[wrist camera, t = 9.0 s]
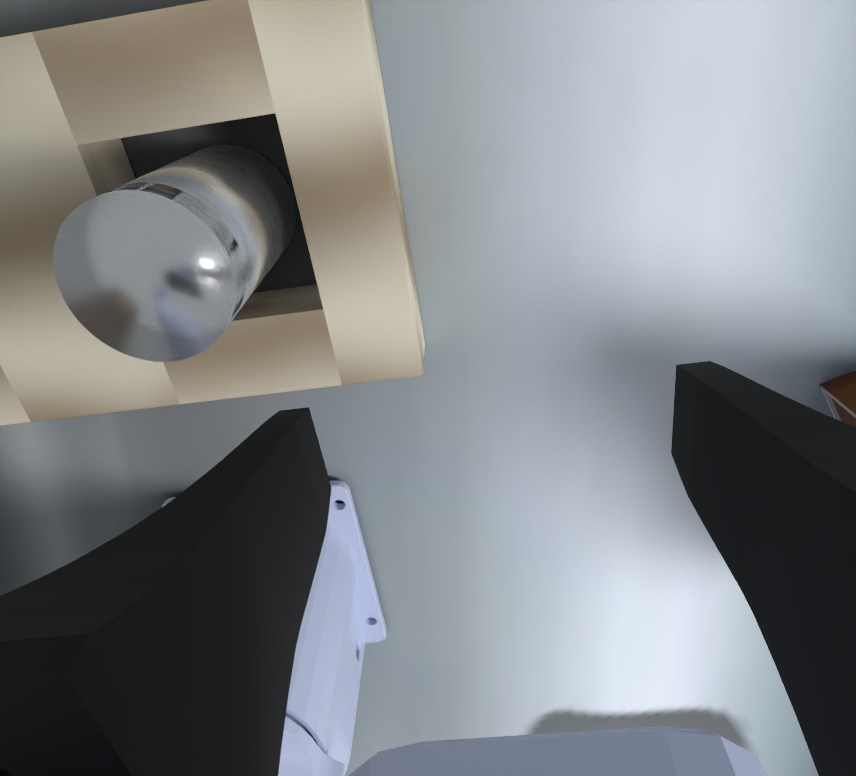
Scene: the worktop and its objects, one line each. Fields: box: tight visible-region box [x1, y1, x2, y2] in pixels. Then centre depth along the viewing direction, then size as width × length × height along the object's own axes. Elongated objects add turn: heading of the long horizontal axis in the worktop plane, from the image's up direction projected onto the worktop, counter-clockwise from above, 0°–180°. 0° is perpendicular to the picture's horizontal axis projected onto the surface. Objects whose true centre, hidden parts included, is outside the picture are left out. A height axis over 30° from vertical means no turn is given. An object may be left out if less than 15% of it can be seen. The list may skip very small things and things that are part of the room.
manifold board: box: [0, 0, 425, 425], centre depth 19 cm, size 11×20×2 cm, turn 98°
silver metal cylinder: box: [53, 144, 296, 362], centre depth 17 cm, size 4×4×7 cm
